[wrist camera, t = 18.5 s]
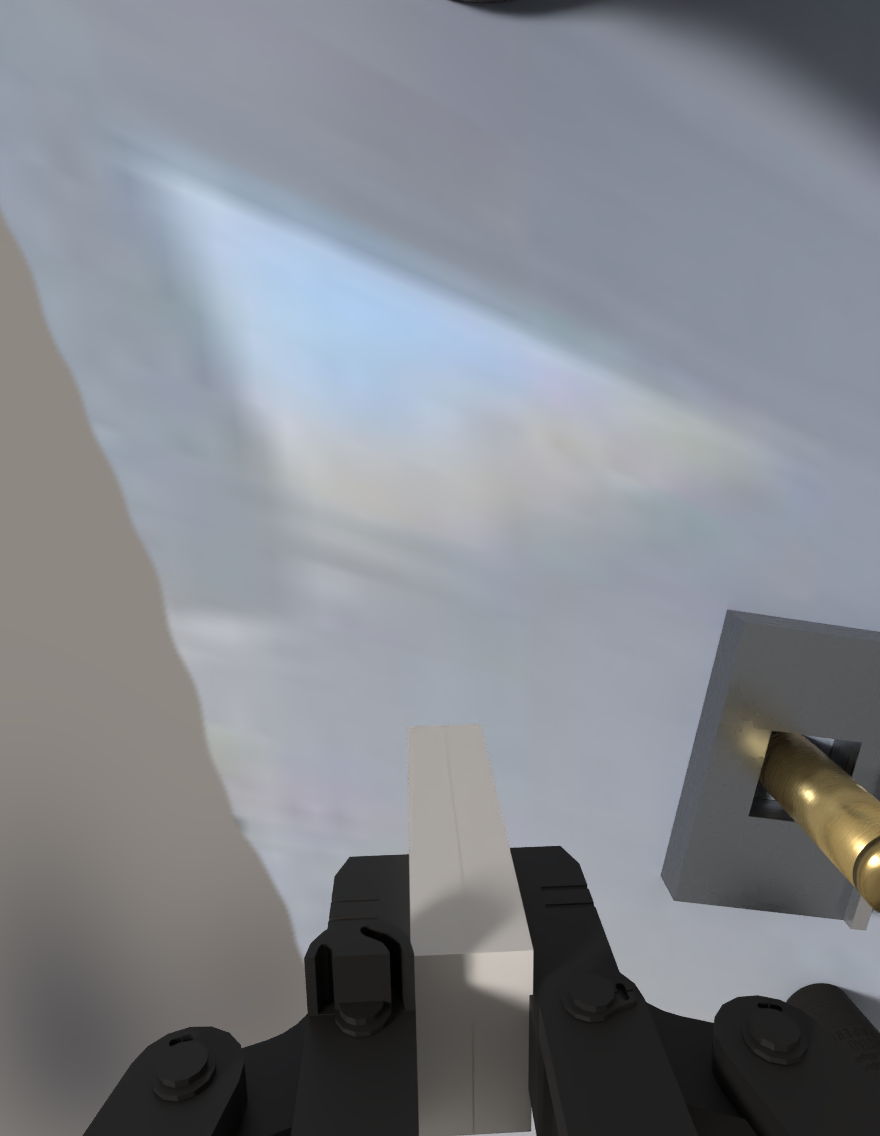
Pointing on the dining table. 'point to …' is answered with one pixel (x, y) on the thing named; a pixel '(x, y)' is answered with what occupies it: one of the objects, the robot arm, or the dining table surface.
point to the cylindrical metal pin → (827, 808)
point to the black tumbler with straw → (842, 1023)
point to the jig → (735, 757)
